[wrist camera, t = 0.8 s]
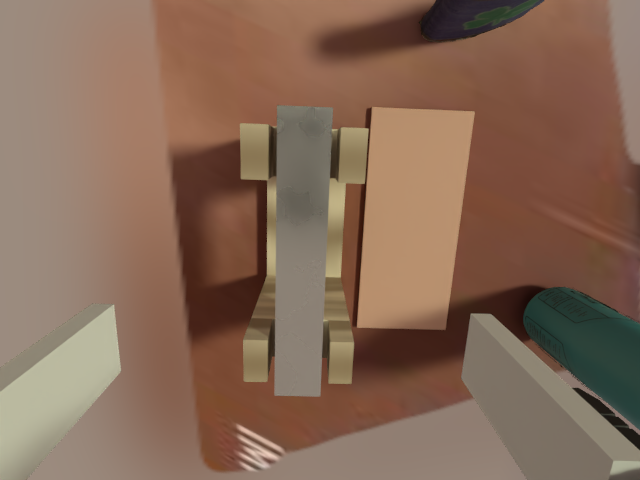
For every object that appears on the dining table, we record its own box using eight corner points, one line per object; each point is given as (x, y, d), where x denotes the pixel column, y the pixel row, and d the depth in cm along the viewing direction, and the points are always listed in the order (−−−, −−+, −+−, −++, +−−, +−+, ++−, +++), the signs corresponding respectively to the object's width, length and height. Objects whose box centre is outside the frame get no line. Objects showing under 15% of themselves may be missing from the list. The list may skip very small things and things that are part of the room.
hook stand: (268, 127, 32) (239, 113, 20) (347, 130, 32) (369, 118, 20) (268, 304, 36) (243, 388, 24) (337, 307, 37) (350, 390, 24)
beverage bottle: (504, 333, 38) (708, 531, 18) (522, 273, 36) (766, 419, 17) (565, 341, 38) (829, 543, 18) (585, 281, 36) (897, 434, 17)
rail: (281, 111, 22) (277, 105, 20) (330, 112, 22) (332, 107, 20) (278, 368, 27) (274, 395, 24) (319, 369, 27) (320, 396, 24)
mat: (371, 107, 32) (372, 107, 32) (472, 111, 32) (474, 111, 32) (356, 325, 37) (357, 327, 37) (444, 327, 37) (445, 329, 37)
